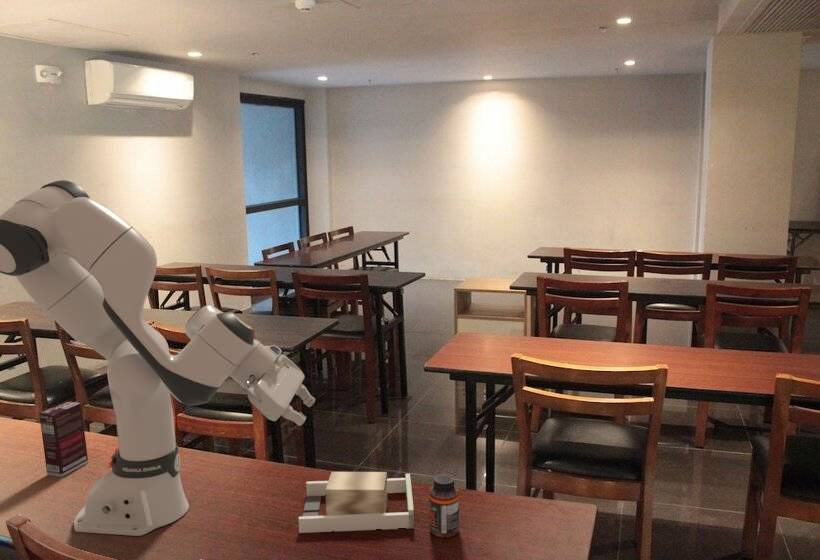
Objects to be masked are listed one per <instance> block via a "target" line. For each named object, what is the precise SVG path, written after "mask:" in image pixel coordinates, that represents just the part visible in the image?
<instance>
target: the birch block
mask: <svg viewBox="0 0 820 560" xmlns="http://www.w3.org/2000/svg"><path fill="white" fill-rule="evenodd" d="M387 479H388V471H331V473H330V475H329V478H328V480H327V481H328V484H327V486H326V489H325V491H326V496H325V510H326V511H325V512H326V515H349V514H374V513H387V506H388V502H387V501H388V493H387Z"/></svg>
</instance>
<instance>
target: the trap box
mask: <svg viewBox="0 0 820 560" xmlns="http://www.w3.org/2000/svg"><path fill="white" fill-rule="evenodd" d="M328 481H329V480H314V481H306V482H305V483H306V485H305V486H306V487H305V488H306V497H305V502H304V508H303V513H302V516H298V533H299V534H305V533H306V534H307V533H310V534H311V533H327V532H328V533H329V532H330V533H331V532H332V531H334V532H352V531H353V532H355V531H356V532H357V531H377V530H376V529H382V530H399V529H398V528H406V529H414V528H415V515H414V512H415V511H414V509H415V508H414V500H413V493H412V492H413V491H412V490H413V489H412V480H411V473H405V477H395V478H394V477H393V478H392V477H391V478H388V477H387V494H395V493H396V494H399V493H401V494H402V493H405V498H407V499H406V507H407V509H406V511H405V512H404V511H403V512H402V511H401V512H386V513H374V514H349V515H325V514H324V515H319V512H318V511H320V506H321V501H322V496H323V497H326V496H325V495H326V491H325V489H326V486H327V484H328ZM407 510H408V511H407Z"/></svg>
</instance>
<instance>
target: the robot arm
mask: <svg viewBox="0 0 820 560" xmlns="http://www.w3.org/2000/svg"><path fill="white" fill-rule="evenodd" d="M157 267H158V258H157V255H156V250H155V249H154V246H152V244H151V243H150V242H149V241H148V239H146V238H145V237H144V236H143V235H142V233H140V232H139V231H138V230H137V229H135V228H134V227H133V226H132V225H131V224H129V223H128V222H127V221H126V220H124V219H123V218H122V217H121V216H119V215H118V214H117V213H115V212H114V211H113V210H111V209H109V208H107V207H106V206H104V205H103V204H101V203H99V202H97V201H96V200H94V199H92V198H91V197H90V195H88V194H87V192H86V191H85V190H84V188H82V187H81V186H79V185H78V184H76V183H75V182H72V181H69V180H64V179H63V180H56V181H52V182H50V183H49V182H48V183H46V184H44V185H43V186H41V187H40V189H37V190H36V191H33V192H31V193H29V194H27V195H26V196H24V197H23V198H21V199H19V200H18V201H16V202H15V203H14V204H13V205H12V206H11V207H9V208H8V209H7V210H5V211H4V212H3V213H2V214H1V215H0V273H1V274H3V275H6V276H10V277H16V279H17V281H18V282H19V284H20V285H21V286H22V287H23V289H24V290H25V292H26V293H27V294H28V295H29V297H31V299H32V300H34V302H35V303H36V304H37V305H38V306H39V308H41V309H42V310H43V311H44V312H45V313H46V314H47V315H48V316H49V317H50V318H51V319H53V321H55V322H56V323H57V324H58V325H59V326H60V327H61V328H62V329H63V330H64V331H65V332H66V333H67V334H68V335H69V336H70V337H71V338H72V339H74V340H75V341H77V342H79V343H81V344H83V345H85V346H87V347H89V348H90V349H92V350H93V351H95V352H96V353H98V354H100V356H102V357H103V358H105V360H107V361H108V363H107V368H106V373H107V380H108V386H109V393H110V397H111V404H112V407H113V412H114V415H115V424H116V432H117V441H118V447H117V448H116V449H115V451H114V453H113V454H112V456H111V457H110V460H109V461H108V463H107V465H108V467H107V468H108V469H110V468H112V469H111V470H110V471H109V472H107V473H106V474H105V475H104V476H103V477H101V478H100V479H99V480H98V481H97V482H95V484H94V485H93V486H92V487H91V488H90V490H89V491H88V493H87V496H86V497H85V498H86V499H85V503H84V506H83V507H82V508H81V509H80V510H79V511H78V513H77V514H76V516H75V518H74V521H73V529H74V531H75V532H77V533H88V534H89V533H90V534H105V535H119V536H120V535H121V536H135V537H140V536H144V535H146V534H148V533H150V532H152V531H153V530H155V529H158V528H161V527H164V526H167V525H169V524H171V523H173V522H175V521H177V520H179V519H180V518H182V517H183V516H184V515H186V513H187V512H188V511H189V507H190V504H189V501H188V499H187V497H186V494H185V492H184V488H183V485H182V481H181V475H180V470H181V459H180V457H181V456H180V453H179V445H178V443H177V442H176V435H175V434H176V433H175V421H174V410H173V405H172V399H171V398H172V397H173V398H174V399H176V400H177V401H178V402H180V403H182V404H183V405H185V406H187V407H189V406H199V405H203V404H207V403H210V400H211V399H212V398H213V397H214V396H215V394H216V392H217V391H218V390H219V389H220V386H221V385H222V384H223V383H224V382H225V381H226V379H227V378H228V377H229V376H230V377H231V378H232V379H233V380H235V381H236V382H237V383H238V385H240V386H241V387H243V388H244V390H245V393H246V394H247V398H248V400H249V401H250V403H251V404H252V405H253V406H254V407H255V408H256V409H257V410H258V411H260V413H261V414H262V415H263V416H265V418H266V419H268V420H270V421H273V422H276V421H278V419H279V418H280V417H281V416H282V417H283V418H284V419H287V420H289V421H291V422H293V423H295V424H296V425H297V426H300V427H301V426H302V425H303V424H304V423H305V421H306V419H307V416H306V415H304V413H302V412H301V411H299V412H298V411H297V410H294V408H293V406H291V404H290V403H291V402H292V400H293V398H294V396H295V395H296V396H299V397H300V399H301V400H302V401H303V402H302V403H303V404H304V405H306V407H308V408H310V407H312V406H313V405H314V403H315V402H316V398H315V397H314V396H312V395H311V394H310V392H309V390H308V389H307V387H306V386H305V385H304V384H303V380H304V379H305V374H304V373H303V371H302V370H301V369H300V367H298V365H296V364H295V363H294V362H293V361H292V360H291V359H290V358H289V357H288V356H286V355H285V354H282V352H283V351H282V349H281V348H280V347H278V346H277V345H276V344H275V345H264V344H262V343H261V342H260V341H259V340H257V339H255V332H254V331H255V330H254V328H253V327H251V326H250V325H249V324H247V323H246V322H245V321H244V320H242V318H240V317H239V316H238V314H236V312H235V311H227V312H224V311H221V310H220V309H218V308H217V307H215V306H214V305H211V304H208V305H207V304H206V305H204V306H203V307H201V308H199V309H198V310H197V311H196V312H194V314H192V316H190V318H189V319H188V321H187V323H186V324H185V326H184V333H185V335H186V336H187V337H188V338H189V339H190V341H189V342H188V343H187V344H186V345H185V346H184V347H183V349H181V351H179V352H178V353H177V354H171V353H170V347H169V344H168V342H167V340H166V339H165V337H164V336H163V335H162V334H161V333H160V332H159V331H158V330H157V329H155V328H154V327H153V326H152V325H150V324H149V323H148V322H147V321H145V319H144V311H143V310H144V305H145V302H146V299H147V297H148V294H149V292H150V289H151V287H152V284H153V281H154V279H155V276H156V272H157ZM171 395H172V397H171Z"/></svg>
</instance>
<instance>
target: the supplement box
mask: <svg viewBox="0 0 820 560" xmlns="http://www.w3.org/2000/svg"><path fill="white" fill-rule="evenodd" d="M38 415H39V421H40V423H39V424H40V431H41V436H42V438H41V439H42V445H43V453H44V461H45V468H46V474H47V475H48V476H51V477H56V478H57V477H58V478H63V477H64V476H66V475H69V474H70V473H72V472H74V471H76V470H77V469H80V468H81V467H83V466H84V465H86V464H88V463H89V458H88V449H87V442H86V441H87V440H86V434H85V426H84V419H83V410H82V402H77V401H68V400H66V401H65V402H62V403H60V404H57V405H55V406H53V407H51V408H48V409H46V410H43V411H41V412H39V413H38Z"/></svg>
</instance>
